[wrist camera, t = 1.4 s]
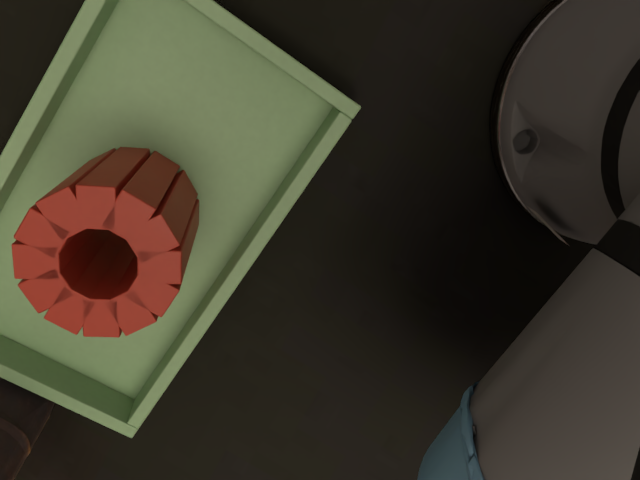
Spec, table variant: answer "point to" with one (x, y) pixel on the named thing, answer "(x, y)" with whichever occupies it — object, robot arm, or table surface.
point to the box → (192, 156)
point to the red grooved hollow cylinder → (108, 243)
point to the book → (19, 425)
